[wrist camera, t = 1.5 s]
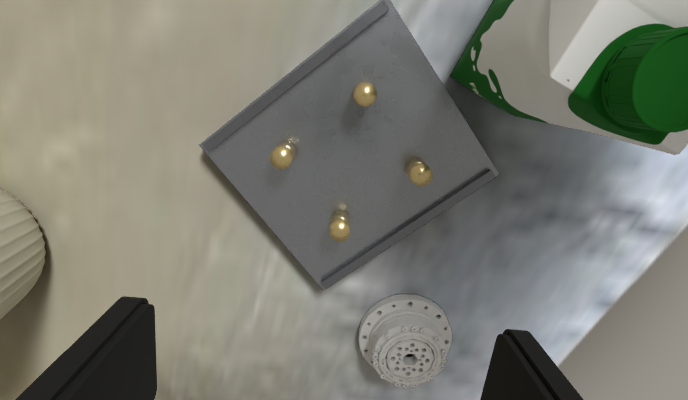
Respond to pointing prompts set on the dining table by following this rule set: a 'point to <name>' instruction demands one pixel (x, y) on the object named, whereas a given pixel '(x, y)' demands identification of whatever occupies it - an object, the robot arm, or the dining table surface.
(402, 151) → the plate
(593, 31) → the milk carton
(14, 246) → the canister
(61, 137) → the dining table surface
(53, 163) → the dining table surface
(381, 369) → the mechanical component
